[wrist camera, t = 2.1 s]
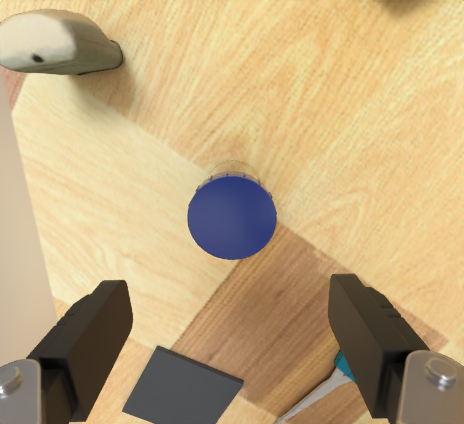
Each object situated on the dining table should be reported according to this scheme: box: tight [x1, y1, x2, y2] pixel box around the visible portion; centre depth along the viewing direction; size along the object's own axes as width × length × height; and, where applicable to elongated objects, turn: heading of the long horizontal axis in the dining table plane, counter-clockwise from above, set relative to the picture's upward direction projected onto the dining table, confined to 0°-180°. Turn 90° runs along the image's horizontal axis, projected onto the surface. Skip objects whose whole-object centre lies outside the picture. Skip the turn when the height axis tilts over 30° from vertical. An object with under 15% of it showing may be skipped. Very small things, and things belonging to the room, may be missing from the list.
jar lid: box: [188, 170, 277, 260], centre depth 19 cm, size 6×6×2 cm
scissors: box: [274, 351, 356, 424], centre depth 34 cm, size 7×1×20 cm
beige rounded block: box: [0, 9, 123, 75], centre depth 20 cm, size 6×5×8 cm
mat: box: [122, 346, 243, 424], centre depth 36 cm, size 12×12×1 cm
